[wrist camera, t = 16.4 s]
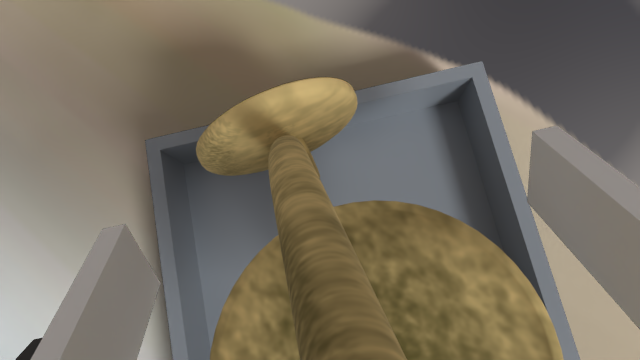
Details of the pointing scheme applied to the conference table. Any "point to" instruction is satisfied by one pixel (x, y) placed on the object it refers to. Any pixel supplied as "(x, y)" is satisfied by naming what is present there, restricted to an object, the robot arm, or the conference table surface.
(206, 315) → the tray
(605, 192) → the robot arm
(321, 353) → the wall sconce
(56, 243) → the conference table surface
